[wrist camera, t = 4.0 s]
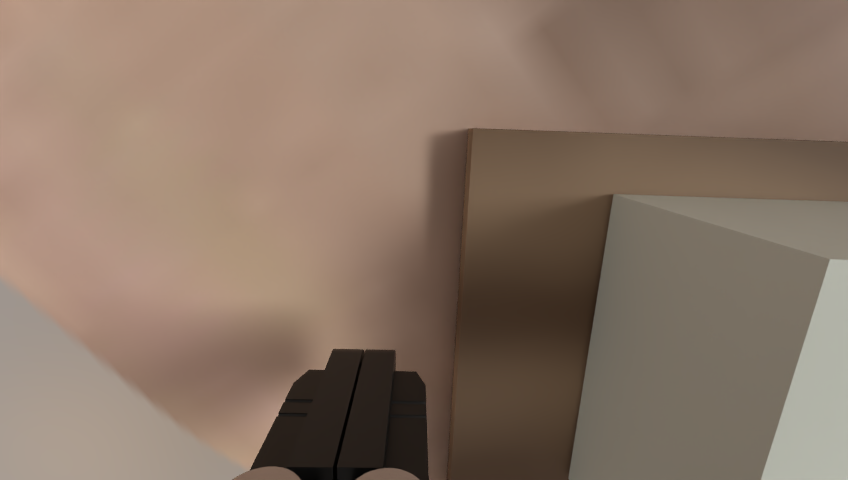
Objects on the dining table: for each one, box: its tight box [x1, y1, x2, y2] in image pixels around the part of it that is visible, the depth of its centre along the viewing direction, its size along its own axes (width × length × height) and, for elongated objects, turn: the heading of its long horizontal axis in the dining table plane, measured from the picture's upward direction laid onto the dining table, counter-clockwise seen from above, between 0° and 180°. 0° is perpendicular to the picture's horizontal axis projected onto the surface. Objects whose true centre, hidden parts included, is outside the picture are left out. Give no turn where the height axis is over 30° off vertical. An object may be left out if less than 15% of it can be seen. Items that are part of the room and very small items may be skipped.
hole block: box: [568, 194, 848, 480], centre depth 9 cm, size 9×9×6 cm
